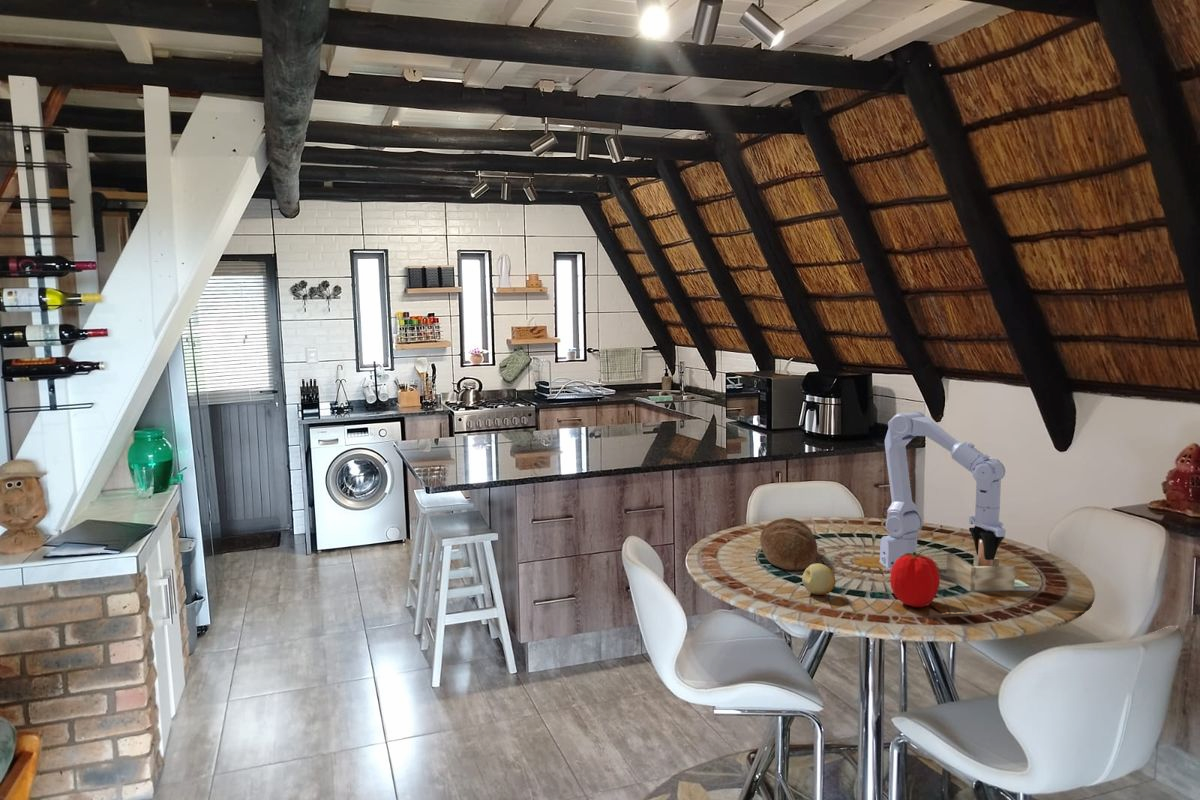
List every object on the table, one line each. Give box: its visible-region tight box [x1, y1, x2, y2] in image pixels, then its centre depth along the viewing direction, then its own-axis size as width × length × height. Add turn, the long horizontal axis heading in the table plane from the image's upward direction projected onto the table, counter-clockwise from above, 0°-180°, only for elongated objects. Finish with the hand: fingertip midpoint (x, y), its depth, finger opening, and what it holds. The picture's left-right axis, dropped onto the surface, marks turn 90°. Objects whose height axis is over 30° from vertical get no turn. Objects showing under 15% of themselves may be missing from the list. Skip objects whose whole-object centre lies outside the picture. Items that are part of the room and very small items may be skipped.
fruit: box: [801, 562, 836, 596], centre depth 209 cm, size 8×8×8 cm
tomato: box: [889, 550, 941, 608], centre depth 201 cm, size 12×12×13 cm
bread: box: [759, 517, 818, 571], centre depth 243 cm, size 16×29×11 cm, turn 175°
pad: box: [1014, 579, 1030, 587], centre depth 217 cm, size 5×5×1 cm
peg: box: [978, 538, 993, 566], centre depth 216 cm, size 4×4×8 cm
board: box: [939, 572, 1037, 593], centre depth 219 cm, size 18×16×1 cm
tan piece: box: [945, 553, 1016, 591], centre depth 218 cm, size 12×13×6 cm
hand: (985, 557), depth 216 cm, fingers closed on peg, 3 cm apart
